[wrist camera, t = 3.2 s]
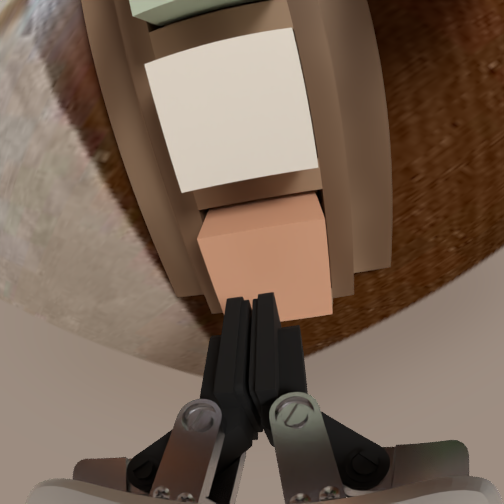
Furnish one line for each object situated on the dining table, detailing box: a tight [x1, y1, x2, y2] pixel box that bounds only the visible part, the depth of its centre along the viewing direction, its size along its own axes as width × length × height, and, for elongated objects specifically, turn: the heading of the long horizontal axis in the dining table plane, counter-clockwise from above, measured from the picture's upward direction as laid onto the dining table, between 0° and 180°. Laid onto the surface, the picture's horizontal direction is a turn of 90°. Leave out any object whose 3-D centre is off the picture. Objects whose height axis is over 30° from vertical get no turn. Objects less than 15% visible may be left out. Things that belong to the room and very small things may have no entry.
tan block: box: [197, 190, 332, 321], centre depth 14 cm, size 5×5×3 cm
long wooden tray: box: [81, 0, 392, 314], centre depth 13 cm, size 14×22×4 cm, turn 12°
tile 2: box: [144, 28, 318, 193], centre depth 11 cm, size 5×5×3 cm
